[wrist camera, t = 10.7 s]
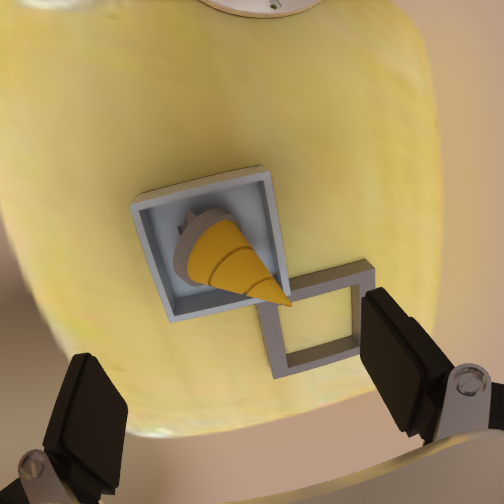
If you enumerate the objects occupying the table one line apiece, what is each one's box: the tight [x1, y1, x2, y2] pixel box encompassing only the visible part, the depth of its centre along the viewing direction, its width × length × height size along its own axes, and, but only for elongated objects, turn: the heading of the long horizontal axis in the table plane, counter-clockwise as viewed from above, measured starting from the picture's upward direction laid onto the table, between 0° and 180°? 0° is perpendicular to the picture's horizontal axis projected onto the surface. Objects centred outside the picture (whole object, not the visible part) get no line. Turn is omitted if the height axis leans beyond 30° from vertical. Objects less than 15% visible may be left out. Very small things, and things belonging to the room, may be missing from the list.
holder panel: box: [256, 259, 375, 379], centre depth 27 cm, size 9×10×2 cm
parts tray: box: [129, 165, 291, 323], centre depth 22 cm, size 9×9×3 cm
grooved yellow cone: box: [173, 208, 292, 307], centre depth 20 cm, size 5×5×10 cm
